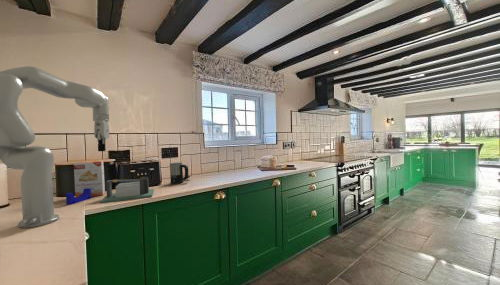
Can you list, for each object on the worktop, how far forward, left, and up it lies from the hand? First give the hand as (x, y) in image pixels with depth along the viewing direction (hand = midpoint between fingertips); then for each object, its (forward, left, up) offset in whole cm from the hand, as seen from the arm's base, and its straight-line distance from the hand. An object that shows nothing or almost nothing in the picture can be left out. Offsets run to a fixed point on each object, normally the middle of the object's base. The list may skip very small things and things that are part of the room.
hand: (101, 151), depth 125 cm
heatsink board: (+3, -12, -27) cm, 30 cm away
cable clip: (+5, +14, -28) cm, 31 cm away
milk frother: (+35, -42, -28) cm, 61 cm away
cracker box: (+16, +11, -28) cm, 34 cm away
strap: (+3, -12, -19) cm, 22 cm away
